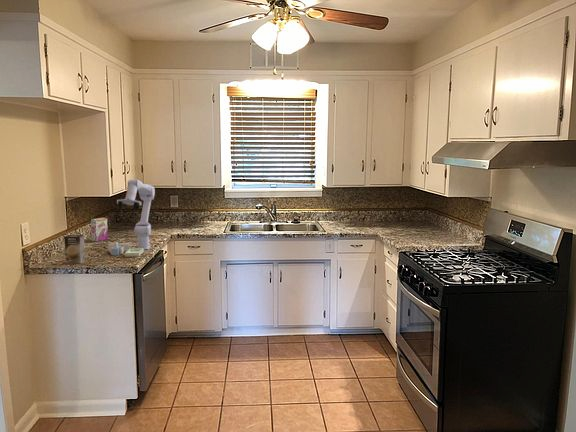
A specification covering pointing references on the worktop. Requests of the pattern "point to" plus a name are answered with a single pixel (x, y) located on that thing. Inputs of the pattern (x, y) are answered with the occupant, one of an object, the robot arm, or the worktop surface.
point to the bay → (124, 247)
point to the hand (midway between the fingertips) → (126, 213)
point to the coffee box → (74, 248)
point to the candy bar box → (99, 229)
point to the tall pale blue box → (116, 249)
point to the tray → (134, 252)
